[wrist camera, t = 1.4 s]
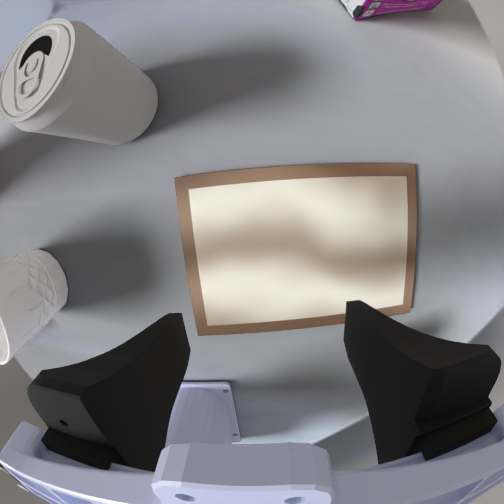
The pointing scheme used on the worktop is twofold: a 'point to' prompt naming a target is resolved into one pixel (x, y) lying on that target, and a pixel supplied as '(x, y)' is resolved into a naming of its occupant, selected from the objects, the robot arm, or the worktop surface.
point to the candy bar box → (384, 7)
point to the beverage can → (75, 86)
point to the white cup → (28, 298)
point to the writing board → (297, 244)
